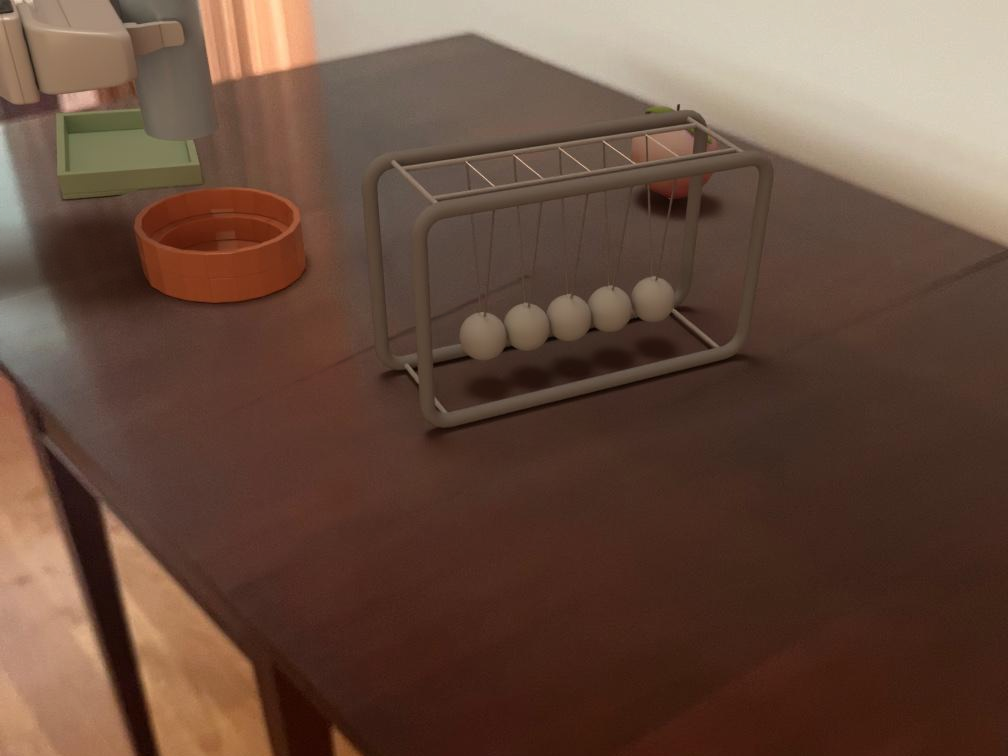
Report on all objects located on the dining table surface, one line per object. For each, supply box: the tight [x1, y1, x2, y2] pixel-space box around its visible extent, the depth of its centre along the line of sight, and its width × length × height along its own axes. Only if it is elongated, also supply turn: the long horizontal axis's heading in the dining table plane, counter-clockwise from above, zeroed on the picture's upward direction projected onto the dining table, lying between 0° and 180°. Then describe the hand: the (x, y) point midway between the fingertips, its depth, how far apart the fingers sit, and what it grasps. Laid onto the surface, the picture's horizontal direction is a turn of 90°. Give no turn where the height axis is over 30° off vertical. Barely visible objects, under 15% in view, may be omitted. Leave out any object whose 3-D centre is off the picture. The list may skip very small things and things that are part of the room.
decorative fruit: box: [630, 103, 720, 200], centre depth 121 cm, size 9×8×10 cm
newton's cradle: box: [361, 109, 775, 429], centre depth 92 cm, size 30×10×18 cm, turn 119°
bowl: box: [133, 186, 307, 304], centre depth 106 cm, size 14×14×5 cm
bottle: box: [118, 0, 220, 141], centre depth 98 cm, size 6×6×16 cm
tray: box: [55, 107, 204, 200], centre depth 124 cm, size 18×14×2 cm
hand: (172, 18), depth 98 cm, fingers closed on bottle, 6 cm apart
